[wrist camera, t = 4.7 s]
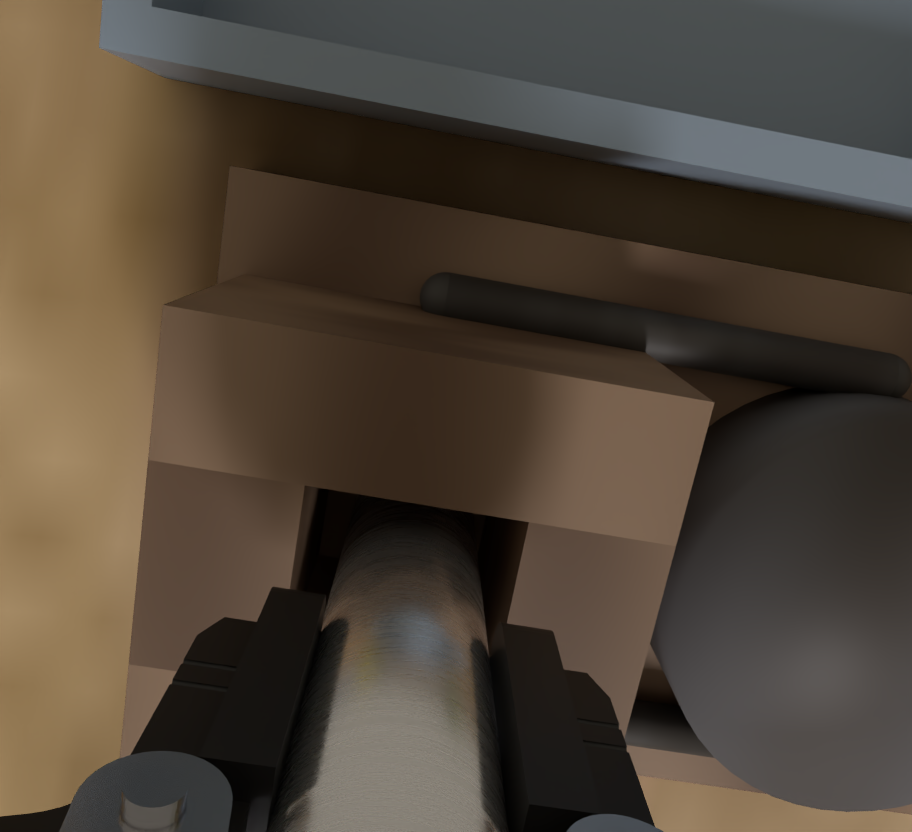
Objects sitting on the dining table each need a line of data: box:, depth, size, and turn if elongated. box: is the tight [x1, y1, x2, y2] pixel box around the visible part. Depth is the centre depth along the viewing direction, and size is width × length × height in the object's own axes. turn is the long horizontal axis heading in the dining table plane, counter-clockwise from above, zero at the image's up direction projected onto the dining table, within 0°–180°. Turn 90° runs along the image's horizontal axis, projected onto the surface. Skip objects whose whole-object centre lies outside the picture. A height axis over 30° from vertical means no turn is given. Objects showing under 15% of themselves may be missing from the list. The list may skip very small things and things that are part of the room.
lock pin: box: [267, 494, 509, 832], centre depth 11 cm, size 3×3×12 cm
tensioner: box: [120, 166, 912, 815], centre depth 16 cm, size 18×12×7 cm, turn 80°
